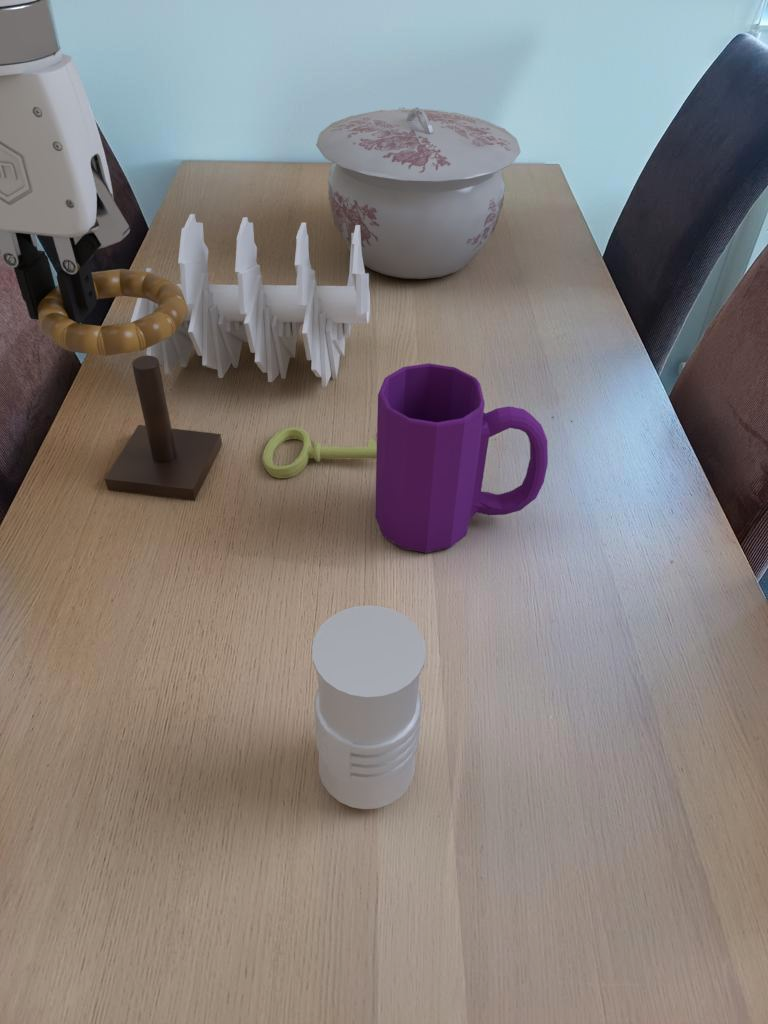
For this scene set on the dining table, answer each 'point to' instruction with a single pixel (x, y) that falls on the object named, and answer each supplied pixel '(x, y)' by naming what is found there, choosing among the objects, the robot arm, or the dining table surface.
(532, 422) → the mug
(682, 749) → the dining table surface
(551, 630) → the dining table surface
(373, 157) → the chamber pot
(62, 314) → the ring
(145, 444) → the peg stand
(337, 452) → the key
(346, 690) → the white lidded bottle
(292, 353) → the spiral staircase
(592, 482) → the dining table surface
